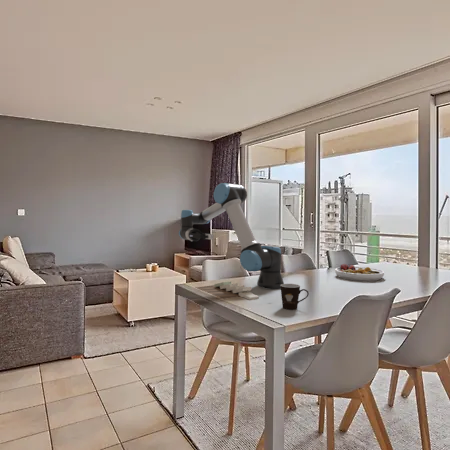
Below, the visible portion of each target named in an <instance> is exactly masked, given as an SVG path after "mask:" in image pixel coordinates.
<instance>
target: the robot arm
mask: <svg viewBox="0 0 450 450" xmlns="http://www.w3.org/2000/svg"><path fill="white" fill-rule="evenodd" d="M247 198H248V191H247V189H246V188H245V186H243V185H241V184H237V183H227V182H224V183H223V182H221V183H219V184H217V185H216V187H214V192H213V200H214V201H215V203H213V204H212V205H211V206H209V207H207V208H205V209H204V210H202V211H201V212H193V210H192V209H183V210H181V213H180V222H181V224H180V229H179V231H178V236H179V237H180V239H182V240H185V241H190V242H198V241H200V240H201V239H202V240H203V241H205V240H214V234H211V233H209V232H207V233H204V232H202V231H201V230H200V229H197V228H194V227H193V226H194V225H205V224H206V225H207V224H209V223H210V222H211V220H213V218H216V217H217V216H219V215H221V214H223V213H224V212H226V213H227V216H228V219H229V221H230V223H231V225H232V228H233V230H234V233H235V235H236V237H237V239H238V242H239V245H240V247H241V249H240V255H239V262H240V263H239V264H240V265H241V267H242V268H243V269H244V270H246V271H247V272H250V273H251V272H259V271H260V273H259V276H258V279H257V283H256V284H257V287H260V288H263V289H266V290H281V286H280V285H281V284H285V283H284V279H283V276H282V249H281V248H280V247H279V246H269V245H261V243H260V242H258V241H256V238H255V235H254V234H253V232H252V229H251V226H250V224H249V222H248V220H247V217H246V215H245V213H244V211H243V208H242V206H241V205H242V204H244V203H245V201H246V200H247Z"/></svg>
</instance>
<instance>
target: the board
mask: <svg viewBox="0 0 450 450" xmlns="http://www.w3.org/2000/svg"><path fill="white" fill-rule="evenodd" d="M194 288H195V289H198V290H200V291H203V292H205V293H207V294H211V295H212V296H215V297H218V298H220V299H223V300H227V299H233V298H241V296H239V293H233V291H226V288H224V289H220V286H219V287H215V286H214V285H213V284H212V285H205V286H202V285H201V286H196V287H194Z"/></svg>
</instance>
